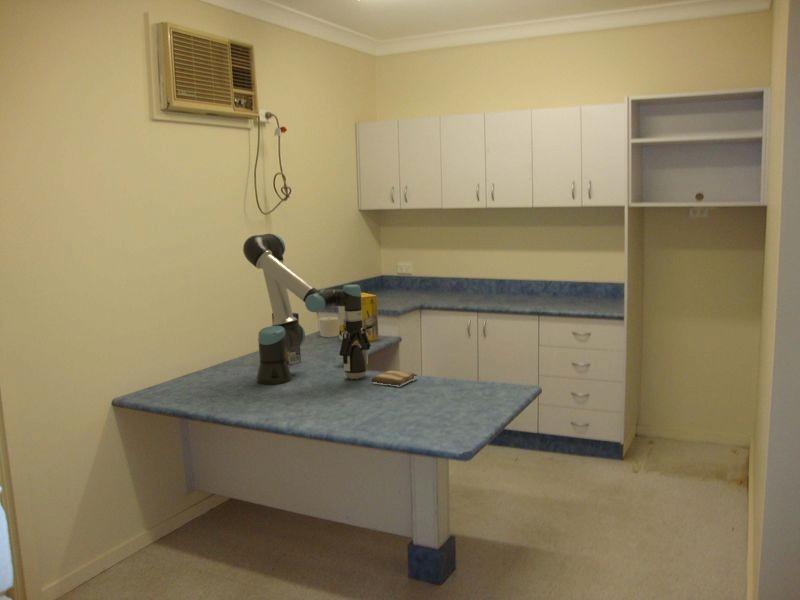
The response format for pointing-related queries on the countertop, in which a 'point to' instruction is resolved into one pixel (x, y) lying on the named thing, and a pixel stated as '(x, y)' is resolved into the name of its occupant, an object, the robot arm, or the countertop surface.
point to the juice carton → (292, 355)
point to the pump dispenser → (356, 363)
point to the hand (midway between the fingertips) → (356, 367)
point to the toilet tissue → (329, 327)
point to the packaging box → (363, 317)
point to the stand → (393, 377)
